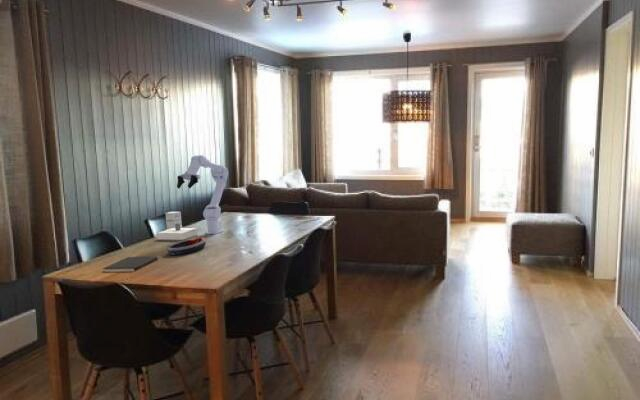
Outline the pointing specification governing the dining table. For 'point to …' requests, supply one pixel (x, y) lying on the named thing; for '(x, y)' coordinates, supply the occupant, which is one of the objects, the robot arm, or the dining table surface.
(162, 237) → the carton
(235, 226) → the dining table surface
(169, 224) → the supplement box
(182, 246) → the dish
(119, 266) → the hardcover book
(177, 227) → the flap
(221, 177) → the robot arm
